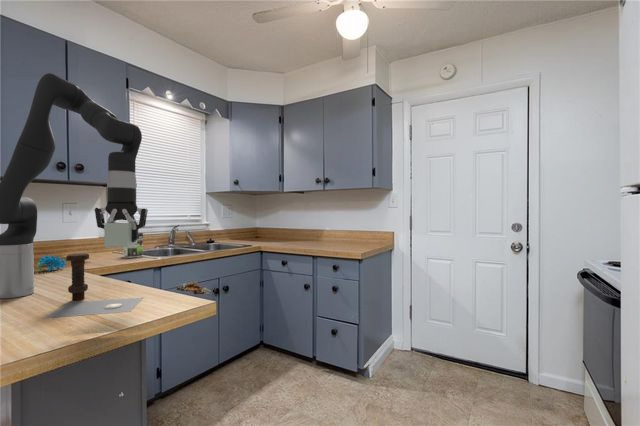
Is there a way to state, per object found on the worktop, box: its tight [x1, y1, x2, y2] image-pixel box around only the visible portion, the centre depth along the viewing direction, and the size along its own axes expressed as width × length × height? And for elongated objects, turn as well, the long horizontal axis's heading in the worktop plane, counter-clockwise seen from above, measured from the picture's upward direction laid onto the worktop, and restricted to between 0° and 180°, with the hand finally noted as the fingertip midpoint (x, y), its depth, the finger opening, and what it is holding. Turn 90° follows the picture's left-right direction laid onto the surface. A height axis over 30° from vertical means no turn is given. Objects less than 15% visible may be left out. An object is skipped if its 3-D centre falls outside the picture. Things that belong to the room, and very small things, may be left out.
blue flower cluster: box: [36, 254, 67, 273], centre depth 146 cm, size 11×6×10 cm
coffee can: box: [123, 232, 144, 259], centre depth 188 cm, size 10×10×14 cm
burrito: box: [176, 281, 212, 295], centre depth 111 cm, size 7×12×4 cm, turn 95°
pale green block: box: [103, 221, 137, 249], centre depth 96 cm, size 6×9×7 cm, turn 14°
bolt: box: [65, 252, 90, 302], centre depth 97 cm, size 6×5×15 cm
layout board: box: [43, 297, 144, 319], centre depth 90 cm, size 20×14×1 cm
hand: (121, 241), depth 96 cm, fingers closed on pale green block, 6 cm apart
